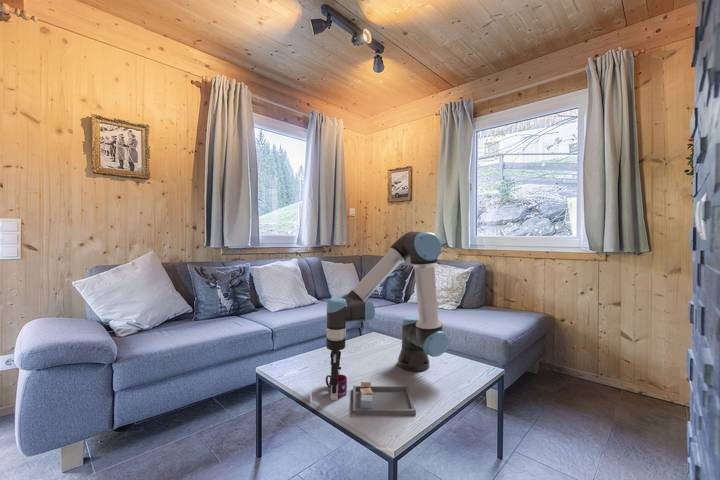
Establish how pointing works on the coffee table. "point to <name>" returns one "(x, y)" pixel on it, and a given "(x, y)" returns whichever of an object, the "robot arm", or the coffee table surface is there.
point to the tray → (385, 401)
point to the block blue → (366, 401)
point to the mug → (339, 385)
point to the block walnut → (365, 385)
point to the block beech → (365, 392)
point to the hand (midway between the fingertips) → (335, 392)
